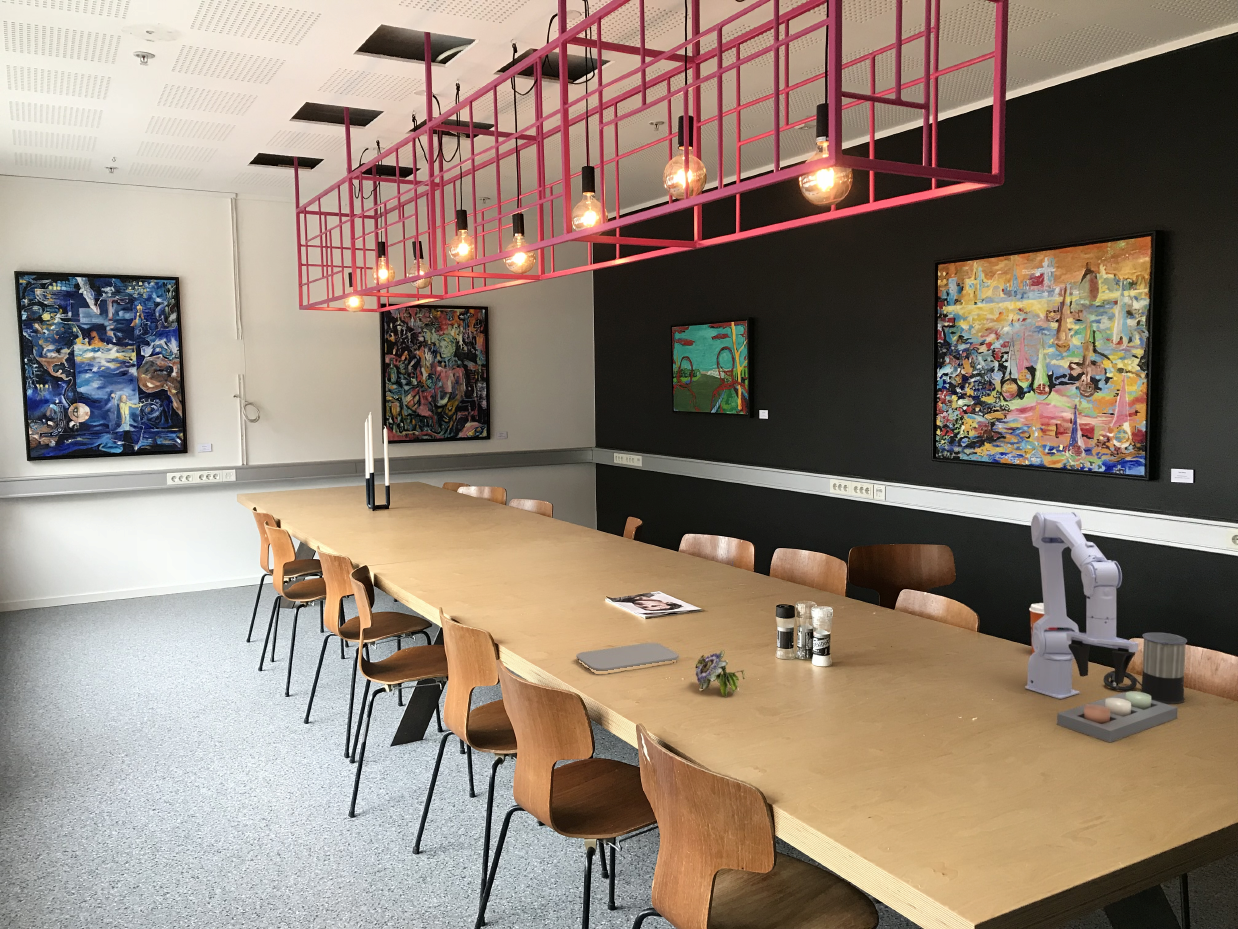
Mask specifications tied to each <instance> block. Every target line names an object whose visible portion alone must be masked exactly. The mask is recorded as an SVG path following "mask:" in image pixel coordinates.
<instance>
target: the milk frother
mask: <svg viewBox="0 0 1238 929" xmlns="http://www.w3.org/2000/svg"><path fill="white" fill-rule="evenodd" d="M1142 637H1143V638H1142V639H1143V649H1142V650H1143V651H1142V652H1143V653H1142V676H1141V677H1142V678H1141V682H1140V681H1139V680H1138V679H1137V678H1136V677H1135V675H1133V674H1132V673H1130V672H1128V671H1126V673H1125V677H1124V678H1126V679H1128V680H1129V681H1130V684H1128V685H1124V686H1123V685H1120V684H1116V683H1115V670H1112V671H1110V672H1107V673H1106V674H1104V676H1103V684H1104V685H1105V686H1106V687H1107V688H1110V689H1112V690H1115V691H1118V692H1119V691H1120V692H1130V691H1132V690H1133V691H1134V689H1135V688H1136V687H1137V685H1140V688H1141V689H1140V691H1139V692H1142V693H1146V694H1149V695H1150V696H1151V700H1154V701H1157V702H1161V703H1164V704H1168V705H1171V704H1175V705H1176V704H1181V703H1184V702H1185V689H1184V688H1185V687H1184V686H1185V685H1184V684H1185V666H1186V665H1185V664H1186V663H1185V662H1186V643H1187V642H1188V639H1187V638H1185V637H1183V636H1181V635H1177V634H1172V633H1166V632H1146V633H1143V634H1142Z"/></svg>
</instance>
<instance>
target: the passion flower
mask: <svg viewBox="0 0 1238 929" xmlns="http://www.w3.org/2000/svg"><path fill="white" fill-rule="evenodd" d="M724 656H725V649H722V650H721V651H720V652H718V653H717V652H715V653H711V654H710V655H707V656H706V655H705V654H702V655H701V656H700V657H699V658H698V659H697V662H695V670H694V672H695V676H696V678H697V679H696V680H697V682H698V685H700V686H699V688H698V690H699V689H703V690H705V691H706V690H707V689H708V687H709V686H710V684H711V682H712V683H713V682H716V681H717V683H718V684H719V688H720V692H721V695H722V696H723V697H725V696H727V697H728V691H729V687H730V686H731V687H730V689H731V693H732V694H734V693H735V692H736V690H737V689H738V686H739V684H738V681H739V680H740V679H739V676H738V675H737V674H736V673H740V672H741V674H742V679H743V680H745V679H746V675H745V670H744V669H743V670H737V671H735V672H732V671H729V672H727V667H726V666H728V664H729V661H728V660H725V659H724V660H722V659H723V658H724ZM703 690H702V691H703Z"/></svg>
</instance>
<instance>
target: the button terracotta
mask: <svg viewBox="0 0 1238 929" xmlns="http://www.w3.org/2000/svg"><path fill="white" fill-rule="evenodd" d="M1084 705H1085V706H1084V719H1087V720H1090V721H1093V722H1096V723H1099V724H1104V723H1107V722H1110V709H1109V708H1107V707H1104V706H1100V705H1086V704H1084Z"/></svg>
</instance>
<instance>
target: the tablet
mask: <svg viewBox="0 0 1238 929" xmlns="http://www.w3.org/2000/svg"><path fill="white" fill-rule="evenodd" d="M575 657H577V658H578V659H579V660H580V661H581V662H583V663H584V664H585V665H587V666H588V667H589V668H591V669H593V670H596V671H608V670H614V669H620V668H627V667H633V666H640V665H646V664H652V663H659V662H665V661H672V660H676V661H677V660H678V659H679V658H680V656H679V653H677V652H675V651H674V650H672V649H670V648H668V647H666V646H664V645H663V644H660V643H658V642H646V643H645V642H644V643H637V644H630V645H623V646H616V647H610V648H609V647H608V648H602V649H596V650H595V649H594V650H590V651H589V650H588V651H582V652H579V653H577V654H576V656H575ZM577 658H576V659H577ZM578 659H577V660H578ZM579 660H578V661H579Z"/></svg>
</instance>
